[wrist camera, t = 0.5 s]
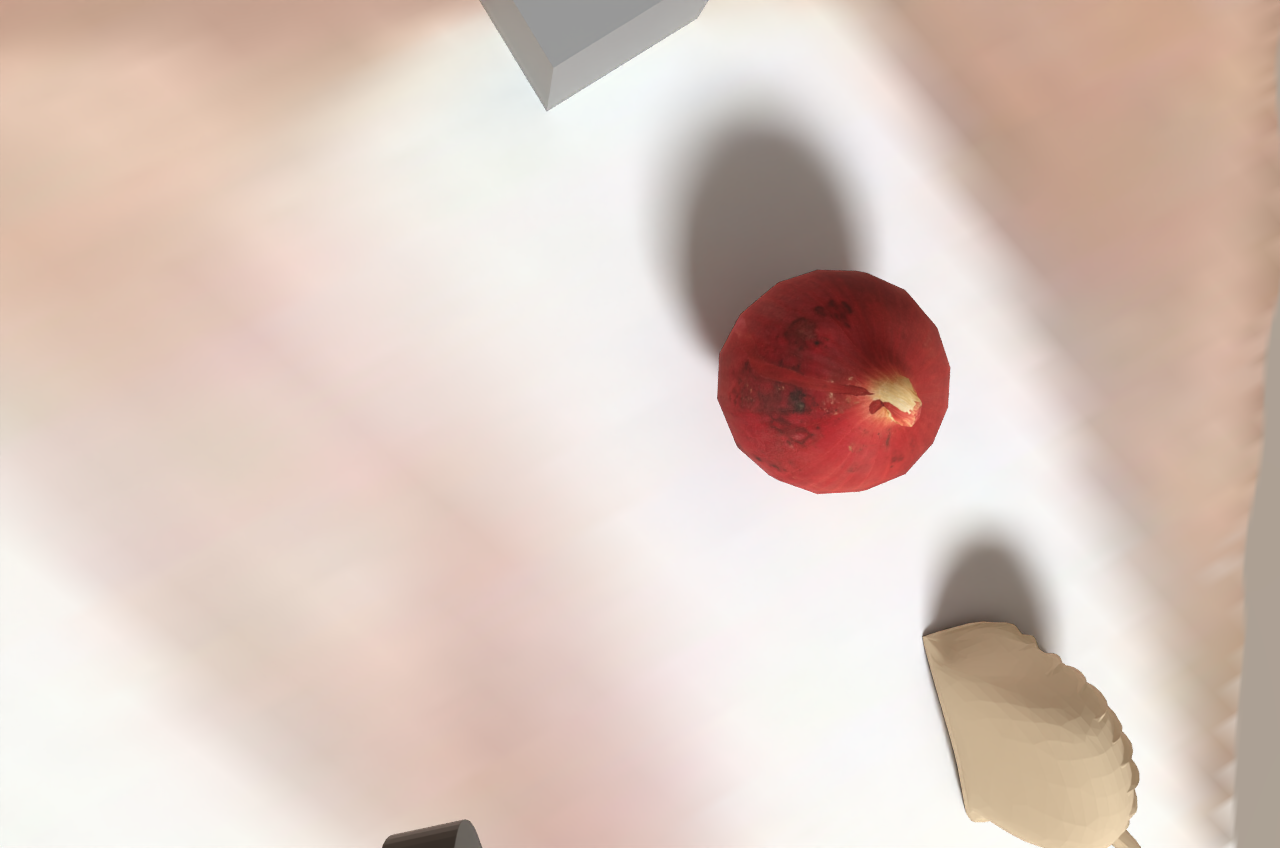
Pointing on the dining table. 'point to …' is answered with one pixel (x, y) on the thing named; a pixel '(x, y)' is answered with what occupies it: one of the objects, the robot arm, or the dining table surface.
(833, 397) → the red squash
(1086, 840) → the decorative ornament
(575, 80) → the grey block
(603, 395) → the dining table surface
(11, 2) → the dining table surface
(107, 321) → the dining table surface
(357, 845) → the dining table surface
